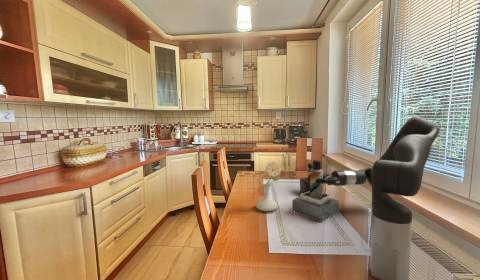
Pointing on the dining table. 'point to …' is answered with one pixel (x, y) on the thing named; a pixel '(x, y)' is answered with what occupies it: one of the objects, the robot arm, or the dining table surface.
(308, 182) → the bronze sculpture
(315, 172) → the lotion bottle
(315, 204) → the gray square holder
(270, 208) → the flower in vase
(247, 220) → the dining table surface
